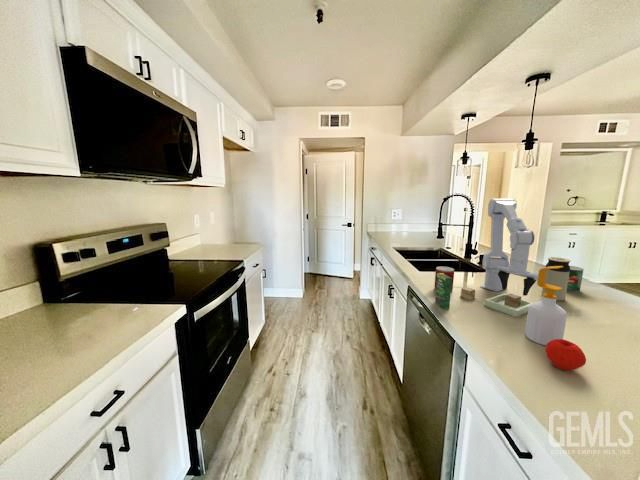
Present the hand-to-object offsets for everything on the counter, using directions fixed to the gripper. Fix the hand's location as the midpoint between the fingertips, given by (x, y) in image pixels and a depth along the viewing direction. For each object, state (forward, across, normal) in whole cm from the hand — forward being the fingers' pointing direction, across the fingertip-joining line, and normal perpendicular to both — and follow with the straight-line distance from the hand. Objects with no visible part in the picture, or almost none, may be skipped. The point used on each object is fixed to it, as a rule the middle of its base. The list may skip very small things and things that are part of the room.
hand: (514, 291), depth 108 cm
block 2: (+6, 0, -1) cm, 6 cm away
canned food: (+6, -26, -9) cm, 28 cm away
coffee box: (+6, -15, -25) cm, 30 cm away
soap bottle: (+6, +18, -20) cm, 28 cm away
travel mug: (+6, +4, +26) cm, 27 cm away
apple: (+6, +27, -32) cm, 42 cm away
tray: (+6, 0, -3) cm, 7 cm away
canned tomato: (+7, +3, +46) cm, 46 cm away
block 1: (+6, -15, -7) cm, 18 cm away
